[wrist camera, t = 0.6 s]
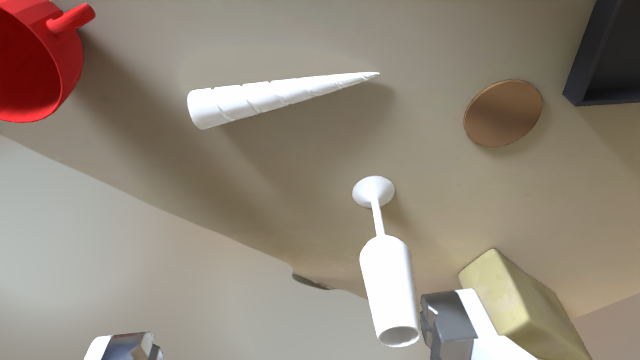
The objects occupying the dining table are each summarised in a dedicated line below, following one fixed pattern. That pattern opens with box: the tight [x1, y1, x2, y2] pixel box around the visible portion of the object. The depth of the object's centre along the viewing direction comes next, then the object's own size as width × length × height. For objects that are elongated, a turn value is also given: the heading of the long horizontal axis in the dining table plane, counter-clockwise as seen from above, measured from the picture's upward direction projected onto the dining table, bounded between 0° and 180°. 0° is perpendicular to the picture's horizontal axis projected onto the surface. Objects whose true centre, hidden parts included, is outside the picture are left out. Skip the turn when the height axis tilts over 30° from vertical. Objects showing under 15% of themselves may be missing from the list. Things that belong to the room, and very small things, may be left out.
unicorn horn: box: [188, 72, 380, 130], centre depth 48 cm, size 5×24×5 cm, turn 96°
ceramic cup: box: [0, 0, 95, 123], centre depth 40 cm, size 13×17×10 cm
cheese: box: [458, 249, 592, 360], centre depth 69 cm, size 22×10×15 cm, turn 59°
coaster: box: [464, 80, 542, 147], centre depth 52 cm, size 10×10×1 cm
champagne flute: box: [352, 176, 421, 348], centre depth 51 cm, size 7×7×24 cm
